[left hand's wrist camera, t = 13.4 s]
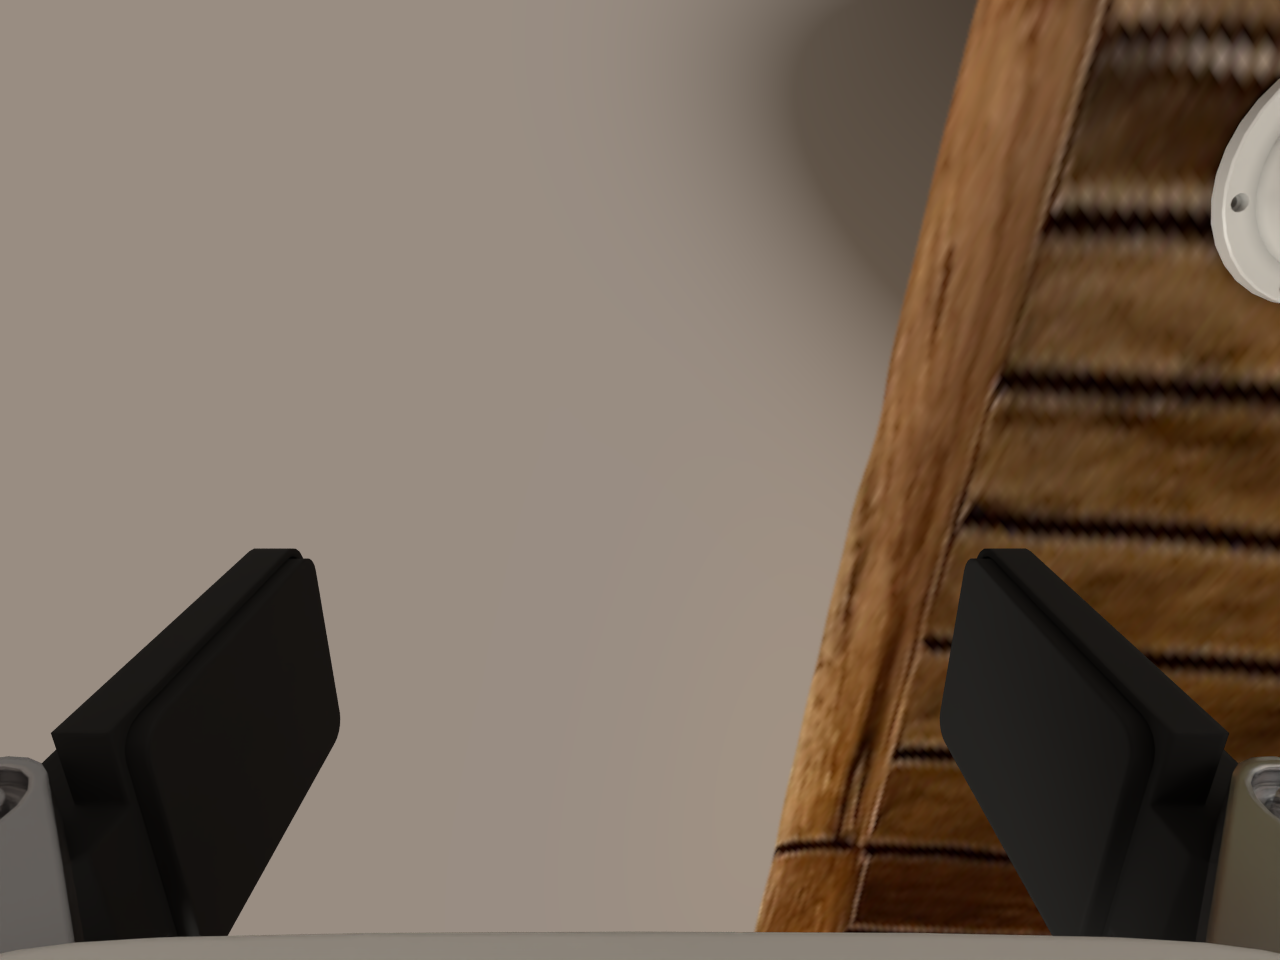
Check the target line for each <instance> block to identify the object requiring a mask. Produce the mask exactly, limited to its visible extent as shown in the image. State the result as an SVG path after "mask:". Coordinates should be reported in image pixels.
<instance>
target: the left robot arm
mask: <svg viewBox="0 0 1280 960" xmlns="http://www.w3.org/2000/svg"><path fill="white" fill-rule="evenodd" d="M1211 226H1212V231H1213V236H1214V241H1215V246H1216V248H1217V251H1218V253H1219V255H1220V257H1221V260H1222V262H1223V264H1224V266H1225V267H1226V268H1227V270H1228V271H1229V272H1230V273H1231V275H1232V276H1233V277H1234V279H1235V280H1236V281H1237V282H1238V283H1240V284H1241V285H1242V286H1243V287H1245V288H1246V289H1247V290H1249V291H1250V292H1251V293H1253V294H1255V295H1257V296H1259V297H1262V298H1264V299H1266V300H1268V301H1271V302H1276V303H1280V79H1278V80H1277V81H1276V82H1275V83H1274V84H1273V85H1272V86H1271V87H1270V88H1269V89H1268V90H1267V91H1266V92H1265V93H1264V94H1263V95H1262V96H1261V97H1260V98H1259V99H1258V100H1257V101H1256V103H1255V104H1254V105H1253V107H1252V108H1251V109H1250V111H1249V112H1248V113H1247V115H1246V116H1245V117H1244V118H1243V120H1242V121H1241V122H1240V124H1239V126H1238V127H1237V129H1236V131H1235V133H1234V135H1233V136H1232V138H1231V140H1230V142H1229V144H1228V145H1227V147H1226V149H1225V152H1224V155H1223V157H1222V160H1221V163H1220V165H1219V168H1218V171H1217V173H1216V178H1215V183H1214V188H1213V193H1212V198H1211ZM339 727H340V712H339V706H338V700H337V694H336V688H335V682H334V676H333V670H332V664H331V658H330V652H329V646H328V641H327V635H326V629H325V623H324V617H323V611H322V605H321V599H320V593H319V587H318V581H317V575H316V570H315V566H314V564H313V562H312V560H310V559H303V557H302V555H301V554H300V552H299V551H298V550H297V549H253V550H251V551H249V552H248V553H247V554H246V555H245V556H244V557H243V558H242V559H241V560H239V561H238V562H237V563H236V564H235V565H234V566H233V567H232V568H231V569H230V570H229V571H227V572H226V573H225V574H224V575H223V576H222V577H221V578H220V579H219V580H218V581H217V582H215V583H214V584H213V585H212V586H211V587H210V588H209V589H208V590H207V591H206V592H204V593H203V594H202V595H201V596H200V597H199V598H198V599H197V600H196V601H195V602H194V603H193V604H191V605H190V606H189V607H188V608H187V609H186V610H185V611H184V612H183V613H182V614H181V615H179V616H178V617H177V618H176V619H175V620H174V621H173V622H172V623H171V624H170V625H168V626H167V627H166V628H165V629H164V630H163V631H162V632H161V633H160V634H159V635H158V636H157V637H155V638H154V639H153V640H152V641H151V642H150V643H149V644H148V645H147V646H146V647H144V648H143V649H142V650H141V651H140V652H139V653H138V654H137V655H136V656H135V657H134V658H132V659H131V660H130V661H129V662H128V663H127V664H126V665H125V666H124V667H123V668H122V669H120V670H119V671H118V672H117V673H116V674H115V675H114V676H113V677H112V678H111V679H110V680H108V681H107V682H106V683H105V684H104V685H103V686H102V687H101V688H100V689H99V690H97V691H96V692H95V693H94V694H93V695H92V696H91V697H90V698H89V699H88V700H87V701H85V702H84V703H83V704H82V705H81V706H80V707H79V708H78V709H77V710H76V711H75V712H74V713H72V714H71V715H70V716H69V717H68V718H67V719H66V720H65V721H64V722H63V723H61V724H60V725H59V726H58V727H57V728H56V729H55V730H54V731H53V732H52V733H51V735H52V738H53V741H54V744H55V747H56V750H55V751H54V752H53V753H52V754H51V755H50V756H49V757H48V758H47V759H46V760H45V761H44V762H43V763H39V762H37V761H35V760H32V759H30V758H26V757H10V756H8V757H0V960H1280V757H1272V756H1270V757H1254V758H1250V759H1247V760H1245V761H1243V762H1241V763H1237V762H1236V761H1235V760H1234V759H1233V758H1232V757H1231V756H1230V755H1229V754H1228V753H1227V752H1226V751H1225V750H1224V747H1225V744H1226V741H1227V738H1228V735H1229V733H1228V732H1227V731H1226V730H1225V729H1224V728H1223V727H1222V726H1221V725H1220V724H1219V723H1217V722H1216V721H1215V720H1214V719H1213V718H1212V717H1211V716H1210V715H1209V714H1208V713H1207V712H1205V711H1204V710H1203V709H1202V708H1201V707H1200V706H1199V705H1198V704H1197V703H1196V702H1195V701H1193V700H1192V699H1191V698H1190V697H1189V696H1188V695H1187V694H1186V693H1185V692H1184V691H1183V690H1181V689H1180V688H1179V687H1178V686H1177V685H1176V684H1175V683H1174V682H1173V681H1172V680H1170V679H1169V678H1168V677H1167V676H1166V675H1165V674H1164V673H1163V672H1162V671H1161V670H1160V669H1158V668H1157V667H1156V666H1155V665H1154V664H1153V663H1152V662H1151V661H1150V660H1149V659H1148V658H1146V657H1145V656H1144V655H1143V654H1142V653H1141V652H1140V651H1139V650H1138V649H1137V648H1136V647H1134V646H1133V645H1132V644H1131V643H1130V642H1129V641H1128V640H1127V639H1126V638H1125V637H1124V636H1122V635H1121V634H1120V633H1119V632H1118V631H1117V630H1116V629H1115V628H1114V627H1113V626H1112V625H1110V624H1109V623H1108V622H1107V621H1106V620H1105V619H1104V618H1103V617H1102V616H1101V615H1100V614H1098V613H1097V612H1096V611H1095V610H1094V609H1093V608H1092V607H1091V606H1090V605H1089V604H1088V603H1086V602H1085V601H1084V600H1083V599H1082V598H1081V597H1080V596H1079V595H1078V594H1077V593H1076V592H1074V591H1073V590H1072V589H1071V588H1070V587H1069V586H1068V585H1067V584H1066V583H1065V582H1063V581H1062V580H1061V579H1060V578H1059V577H1058V576H1057V575H1056V574H1055V573H1054V572H1053V571H1051V570H1050V569H1049V568H1048V567H1047V566H1046V565H1045V564H1044V563H1043V562H1042V561H1041V560H1039V559H1038V558H1037V557H1036V556H1035V555H1034V554H1033V553H1032V552H1031V551H1029V550H1027V549H983V550H982V551H981V552H980V553H979V555H978V557H977V559H970V560H968V562H967V564H966V566H965V570H964V575H963V581H962V587H961V593H960V599H959V605H958V611H957V617H956V623H955V629H954V635H953V640H952V646H951V652H950V658H949V664H948V670H947V676H946V682H945V688H944V694H943V700H942V706H941V712H940V727H941V733H942V736H943V739H944V741H945V743H946V745H947V747H948V749H949V750H950V752H951V754H952V756H953V758H954V759H955V761H956V763H957V765H958V767H959V768H960V770H961V772H962V774H963V776H964V777H965V779H966V781H967V783H968V785H969V786H970V788H971V790H972V792H973V794H974V795H975V797H976V799H977V801H978V803H979V804H980V806H981V808H982V810H983V812H984V813H985V815H986V817H987V819H988V821H989V822H990V824H991V826H992V828H993V830H994V831H995V833H996V835H997V837H998V839H999V840H1000V842H1001V844H1002V846H1003V848H1004V849H1005V851H1006V853H1007V855H1008V857H1009V858H1010V860H1011V862H1012V864H1013V866H1014V867H1015V869H1016V871H1017V873H1018V875H1019V876H1020V878H1021V880H1022V882H1023V884H1024V885H1025V887H1026V889H1027V891H1028V893H1029V894H1030V896H1031V898H1032V900H1033V902H1034V903H1035V905H1036V907H1037V909H1038V911H1039V912H1040V914H1041V916H1042V918H1043V920H1044V921H1045V923H1046V925H1047V927H1048V929H1049V930H1050V932H1051V934H1052V936H1030V935H980V934H930V933H788V932H495V933H493V932H492V933H350V934H300V935H250V936H228V934H229V932H230V930H231V929H232V927H233V925H234V923H235V921H236V920H237V918H238V916H239V914H240V912H241V911H242V909H243V907H244V905H245V903H246V902H247V900H248V898H249V896H250V894H251V893H252V891H253V889H254V887H255V885H256V884H257V882H258V880H259V878H260V876H261V875H262V873H263V871H264V869H265V867H266V866H267V864H268V862H269V860H270V858H271V857H272V855H273V853H274V851H275V849H276V848H277V846H278V844H279V842H280V840H281V839H282V837H283V835H284V833H285V831H286V830H287V828H288V826H289V824H290V822H291V821H292V819H293V817H294V815H295V813H296V812H297V810H298V808H299V806H300V804H301V803H302V801H303V799H304V797H305V795H306V794H307V792H308V790H309V788H310V786H311V785H312V783H313V781H314V779H315V777H316V776H317V774H318V772H319V770H320V768H321V767H322V765H323V763H324V761H325V759H326V758H327V756H328V754H329V752H330V750H331V749H332V747H333V745H334V743H335V741H336V739H337V736H338V733H339Z"/></svg>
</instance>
